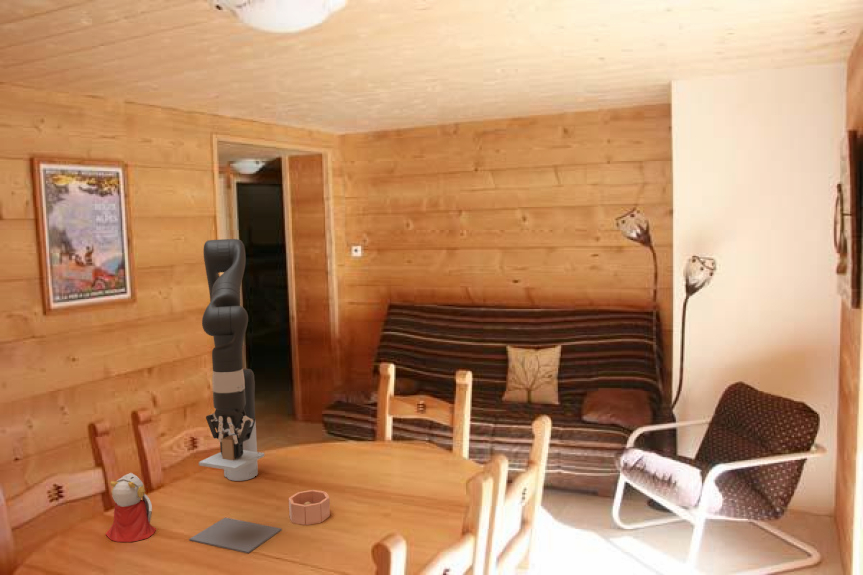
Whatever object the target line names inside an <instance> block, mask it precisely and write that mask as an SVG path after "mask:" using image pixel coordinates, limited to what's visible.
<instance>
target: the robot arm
mask: <svg viewBox="0 0 863 575" xmlns="http://www.w3.org/2000/svg"><path fill="white" fill-rule="evenodd" d="M246 257H247V256H246V247H245V244H244V243H243V241H242V240H240V239H239V238H228V239H225V238H223V239H209V240H206V241H205V242H204V244H203V261H204V267H205V274H206V280H207V285H208V291H209V300H210V301H209V304H208V305H207V307H206V308H205V309H204V312H203V315H202V320H201V325H202V328H203V331H204V333H205V334H206V335H208V336H210V337H213V343H214V347H213V349H212V350H211V359H212V360H211V361H212V362H211V363H212V379H211V380H212V381H211V382H212V400H213V402H212V403H213V408H214V409H215V410H214V412H213V413H211V414H208V415H206V416H205V418H206V419H205V420H206V422H207V425H208V427H209V430H210V433H211V435H212V438H213V439H217V440H218V442H220V445H219V446H220V447H219V448H220V452H221V454H222V439H223V438H225V437H227V436H230V435H233V440H234V443H235V444H234V458H240V457H241V456H242V455H243V450H246V451H253V452H258V446H257V445H258V444H257V427H256V425H257V423H256V408H255V407H256V406H255V404H256V403H255V390H256V389H255V387H256V384H255V383H256V382H255V374H254V371H253V370H252V369H251V368H244V366H243V365H244V363H243V346H244V340H245V335H246V332H247V327H248V322H249V315H248V312H247V310H246V309H245V308H244V307H243V306H241V286H242V282H243V278H244V274H245V269H246V263H247V262H246V260H247V258H246ZM220 273H222V274H220ZM238 436H239V438H238ZM258 469H259V468H258V460H256V461H254V462H252V463H250V464H248V465H246V466H244V467H242V468H240V469H239V470H237V471H231V470H225V469H223V476H224V478H227V480H229V481H236V482H240V481H241V482H242V481H247V480H251V479H254V478H255V476H256V477H257V476H258V474H259V470H258Z"/></svg>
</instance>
